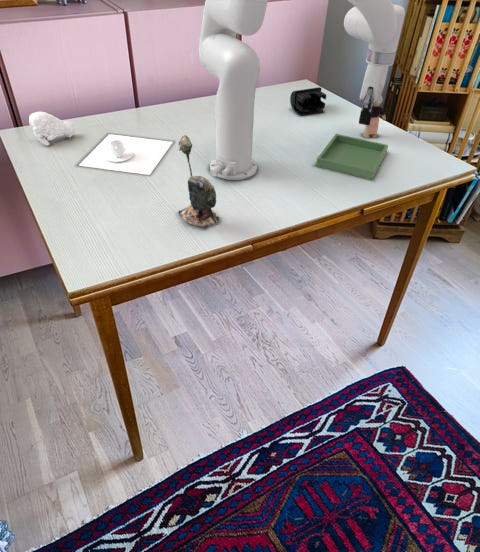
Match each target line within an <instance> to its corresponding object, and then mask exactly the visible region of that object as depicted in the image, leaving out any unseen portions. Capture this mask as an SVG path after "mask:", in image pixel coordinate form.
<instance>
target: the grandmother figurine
mask: <svg viewBox="0 0 480 552" xmlns="http://www.w3.org/2000/svg"><path fill="white" fill-rule="evenodd" d="M371 100H372V101H373V99H371ZM383 101H384V99H383V96H382V94H381V95H380V96H379V98H378V100H377V101H376V102H374V104H373V108H372V111H371V112H372V116H371V120H370V124H369V125H365V127H364V132H363V134H362V136H363V137H364V138H366V139H369V138H370V137H372V138H374V139H376V138H378V129H379V123H380V117H381V119H382V121H386V119H387V117H386V112H385V110H384V108H382V107H381V106H380V105H381V104H382V103H383Z"/></svg>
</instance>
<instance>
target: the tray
mask: <svg viewBox="0 0 480 552" xmlns="http://www.w3.org/2000/svg"><path fill="white" fill-rule="evenodd" d="M388 148H389V144H385V143H382V142H376V141H371V140H368V139H362V138H358V137H353V136H348V135H344V134H339V133H335V134H334V135H333V137H332V138H331V139H330V141H329V142H328V143H327V145H326V146H325V147H324V149H323V150H322V151H321V152H320V154H318V157H317V158H316V164H315V167H317V168H320V169H321V168H322V169H326V170H330V171H333V172H339V173H341V174H347V175H349V176H355V177H359V178H362V179H367V180H370V181H372V180H373V179H374V177H375V175H376V173H377V172H378V170H379V168H380V166H381V164H382V162H383V160H384V159H385V156H386V154H387V153H388Z"/></svg>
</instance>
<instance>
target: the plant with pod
mask: <svg viewBox="0 0 480 552" xmlns="http://www.w3.org/2000/svg"><path fill="white" fill-rule="evenodd" d="M178 146H179V149H178V151H179V152H180V151H181V152H182V154H184V155H185V156H186V159H187V163H188V168H189V174H190V177H189V178H188V180H187V187H188V189H187V190H188V195H189V198H188V199H189V201H190V205H188V206H187V207H185V208H182V209H181V210H179V211H178V214H179V216H180V217H181V218H182V219H183V222H184V221H185V224H191V225H193V226H197V227H199V228H207V227H211V226H212V225H214V224H215V225H218V224H219V220H220V216H218V215H217V213H216V212H215V210H213V209H212V208H214V207H215V206H216V204H217V192H216V188H215V187H214V185H213V184H212V183H211V181H210V180H209V179H207V178H206V177H204V176H202V175H195V176H193V172H192V166H191V163H190V155H191V152H192V148H193V143H192V142H191V139H190V138H189V136H187V135H186V134H185V135H182V136H181V138H180V140H179V141H178Z"/></svg>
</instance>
